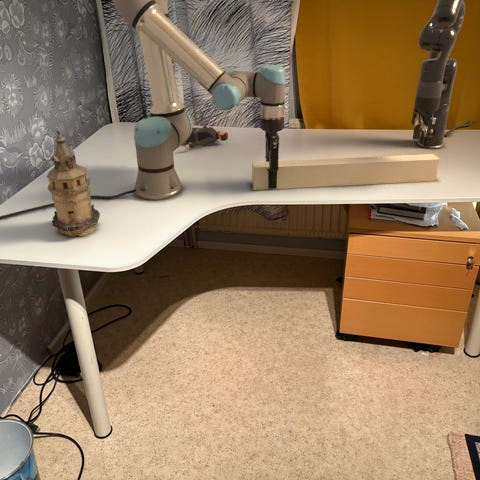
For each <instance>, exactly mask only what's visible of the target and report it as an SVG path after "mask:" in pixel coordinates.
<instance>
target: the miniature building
mask: <svg viewBox="0 0 480 480" xmlns="http://www.w3.org/2000/svg"><path fill="white" fill-rule="evenodd" d="M56 134H57V136H56V138H55V140H54V141H55V142H56V147H55V154H54V156H52V157H51V161H52V162H53V165H54V167H53V168H51V169H50V170H49V171H48V173H47V174H46V178H47V179H48V182H49V184H48V186H47V190H48V191H49V193H50V194H51V200H52V201H53V203H54V205H55V206H54V209H55V211H53V217H52V220H51V223H52V225H51V227H54V228H56V229H58V230H59V231H60V234H63V235H64V234H65V235H66V236H69V237H77V236H80V237H83V236H87V235H88V234H90V233H93V232H94V231H95V229H96V226H97V225H98V223H99V220H100V216H101V213H100V212H99V210H98V209H96V208H95V204H92V201H91V200H92V198H91V197H90V196H91V192H92V191H91V188H90V184H91V178H89V177H88V174H87V167H85V166H84V165H83V166H82V165H80V164H77V160H76V154H75V151H74V150H70V149H69V147H68V145H67V143H66V138H65V137H64V136H63V135H61V130H60V129H56Z"/></svg>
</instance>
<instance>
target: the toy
mask: <svg viewBox="0 0 480 480" xmlns="http://www.w3.org/2000/svg"><path fill="white" fill-rule="evenodd" d="M228 138H229V134H228V132H227V131H226V130H218V131H217V130H216V129H215V128H214V127H212V126H209V127H208V126H207V125H206V124H203V125H202V127H192V132H191V134H190V136H189V138H188V139H187V140H186V142H185V143H188V144H186V145H185V146H184V148H185V149H187V150H191V149H194V148H196V147H198V146H199V147H200V146H202V145H206V146H207V145H208V146H211V145H216V143H217V142H218V140H219V141H220V142H221V141H222V142H224V141H225V142H226V141H227V140H229V139H228Z"/></svg>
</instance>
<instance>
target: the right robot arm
mask: <svg viewBox="0 0 480 480" xmlns="http://www.w3.org/2000/svg"><path fill="white" fill-rule="evenodd" d="M465 12H466V4H465V1H464V0H437V2H436V4H435V7H434V10H433V14H432V15H431V17H430V18H429V20H428V21H427V23H426V24H425V25H424V27H423V29H422V30H421V32H420V34H419V37H418V42H417V43H418V47H419V49H420V50H422V51H424V52H429V53H428V56H427V59H424V60H423V61H422V62H421V65H420V71H419V77H418V78H419V79H418V83H417V87H416V93H415V99H414V107H413V111H412V117H411V125H412V128H413V133H412V139H413V140H417V144H418V146H420V147H422V148H423V149H439V148H442V147H443V146H444V139H445V137H448V136H450V134H451V133H452V132H454V131H455V130H457V129H460V128H466V127H469V126H471V125H472V123H474V120H473V119H470V120H471V121H470V120H469V122H468V123H464V124H460V125H456V126H454V127H453V128H451V129H450V130H448V131H447V132H446V128H447V123H448V122H447V120H448V116H449V111H450V105H451V100H452V94H453V90H454V89H453V88H454V83H455V79H456V75H457V71H458V61H457V59H455V58H449V57H450V54H451V53H452V50H453V49H454V46H455V43H456V42H457V35H458V34H459V32H460V31H461V30H462V27H463V23H464V18H465V14H466V13H465ZM472 120H473V121H472Z"/></svg>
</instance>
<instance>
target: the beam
mask: <svg viewBox="0 0 480 480" xmlns="http://www.w3.org/2000/svg"><path fill="white" fill-rule="evenodd" d="M439 165H440V158H439V157H438V156H436V154H434V153H428V154H427V153H426V154H425V153H423V154H406V155H385V156H384V155H383V156H362V157H361V156H360V157H340V158H338V157H337V158H320V159H318V158H317V159H298V160H297V159H296V160H278V171H277V188H275V189H274V190H283V189H300V188H301V189H302V188H303V189H304V188H318V187H319V188H320V187H340V186H359V185H361V186H362V185H379V184H380V185H381V184H401V183H420V182H421V183H422V182H436V180H437V176H438V170H439ZM267 169H269V162H266V161H256V162H255V161H254V162H253V161H252V162H251V185H252V189H253V191H261V190H270V189H269V188H268V174H269V171H267Z"/></svg>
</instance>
